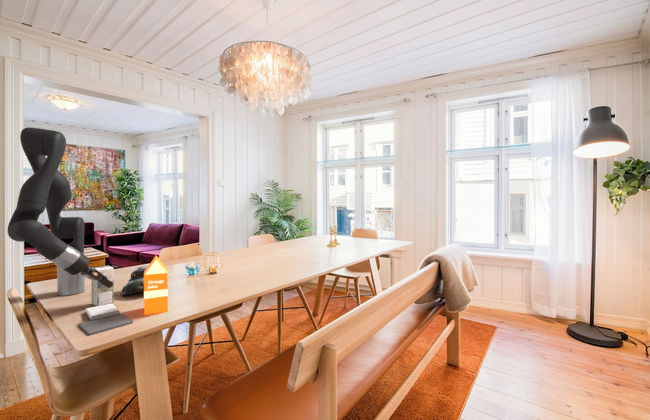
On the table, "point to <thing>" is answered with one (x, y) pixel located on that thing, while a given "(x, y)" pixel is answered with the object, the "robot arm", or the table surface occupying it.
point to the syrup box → (103, 288)
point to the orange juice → (155, 288)
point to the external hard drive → (102, 311)
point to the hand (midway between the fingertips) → (107, 284)
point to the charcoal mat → (104, 324)
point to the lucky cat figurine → (135, 282)
